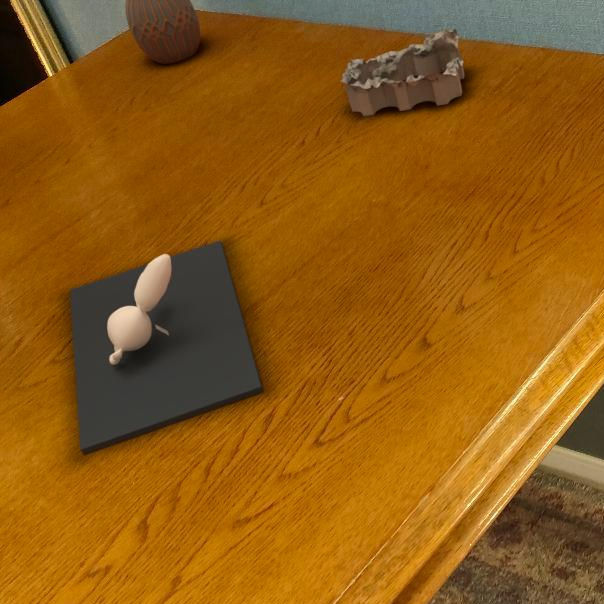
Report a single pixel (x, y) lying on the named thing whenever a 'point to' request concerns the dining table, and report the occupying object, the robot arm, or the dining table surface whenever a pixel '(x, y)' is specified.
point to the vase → (164, 28)
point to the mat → (161, 351)
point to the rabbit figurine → (139, 310)
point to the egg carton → (407, 76)
